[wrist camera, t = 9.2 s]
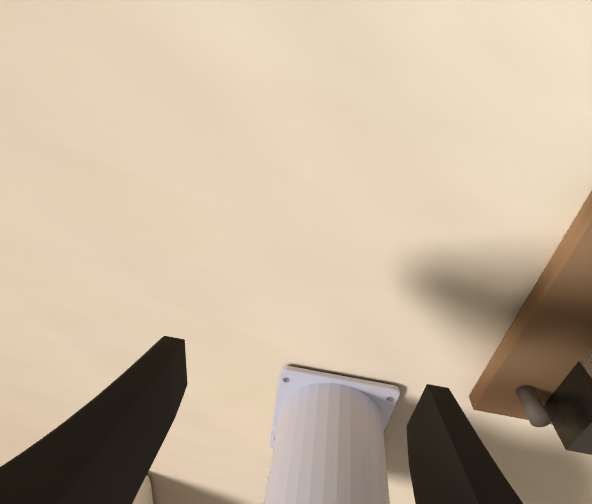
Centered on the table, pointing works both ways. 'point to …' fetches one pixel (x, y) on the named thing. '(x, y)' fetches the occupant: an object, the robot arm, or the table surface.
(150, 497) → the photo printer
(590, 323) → the tool board
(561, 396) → the lever door handle
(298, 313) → the table surface
